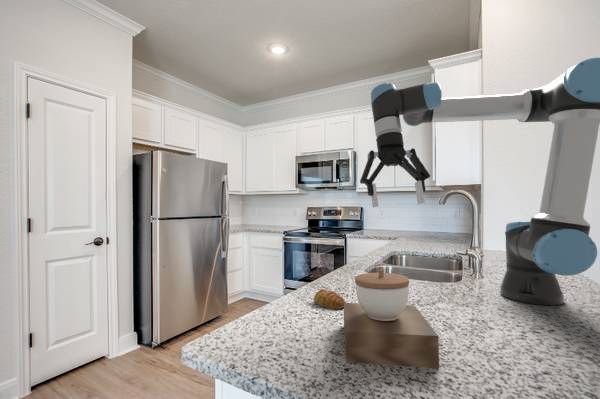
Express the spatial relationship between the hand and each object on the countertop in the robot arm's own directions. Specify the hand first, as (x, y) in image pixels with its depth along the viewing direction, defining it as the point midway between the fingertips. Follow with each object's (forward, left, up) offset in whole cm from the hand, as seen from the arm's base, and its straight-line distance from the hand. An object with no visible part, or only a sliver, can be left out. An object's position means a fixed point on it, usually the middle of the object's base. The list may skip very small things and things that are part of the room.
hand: (398, 205), depth 84 cm
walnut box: (+12, +23, -29) cm, 39 cm away
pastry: (+20, -2, -29) cm, 35 cm away
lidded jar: (+12, +23, -23) cm, 35 cm away
